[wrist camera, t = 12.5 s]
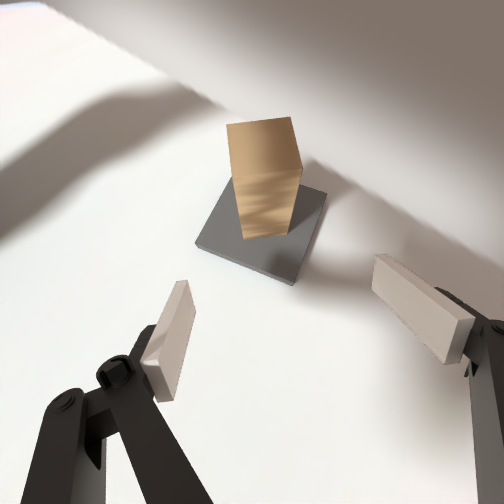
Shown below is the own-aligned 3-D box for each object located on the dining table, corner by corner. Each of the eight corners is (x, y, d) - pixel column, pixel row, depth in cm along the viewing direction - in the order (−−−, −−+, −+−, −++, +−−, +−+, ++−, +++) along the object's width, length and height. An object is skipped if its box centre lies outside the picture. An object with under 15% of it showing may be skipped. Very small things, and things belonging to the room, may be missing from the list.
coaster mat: (198, 247, 28) (194, 243, 27) (239, 172, 32) (238, 164, 30) (292, 285, 26) (293, 282, 25) (324, 200, 30) (327, 193, 28)
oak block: (243, 240, 27) (231, 176, 16) (239, 202, 28) (226, 124, 18) (286, 234, 27) (302, 168, 16) (279, 197, 28) (290, 116, 18)
